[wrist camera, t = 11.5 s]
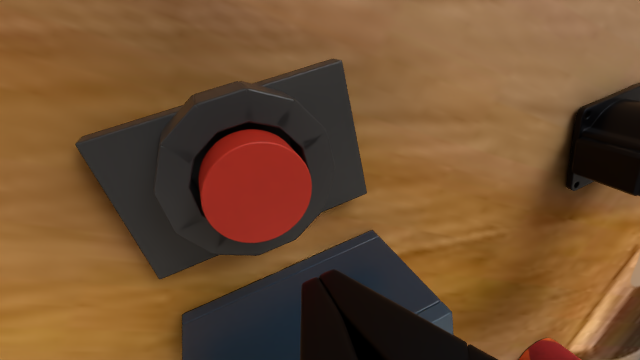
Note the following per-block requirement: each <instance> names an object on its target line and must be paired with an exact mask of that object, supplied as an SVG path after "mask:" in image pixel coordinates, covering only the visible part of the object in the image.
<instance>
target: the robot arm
mask: <svg viewBox="0 0 640 360" xmlns="http://www.w3.org/2000/svg"><path fill="white" fill-rule="evenodd" d="M594 181H595V182H598V183H601V184H604V185H606V186H609V187H612V188H614V189H617V190H620V191H623V192H625V193H628V194H631V195H634V196H637V195H638V196H640V83H638V84H636V85H633V86H631V87H628V88H626V89H624V90H621V91H619V92H616V93H614V94H612V95H609V96H607V97H605V98H602V99H600V100H597V101H595V102H593V103H590V104H588V105H585V106H583V107H581V108H580V109H579V110H578V112H577V115H576V120H575V127H574V134H573V142H572V149H571V156H570V163H569V170H568V177H567V184H566V187H567V188H568V189H570V190H573V191H575V190H577V189H579V188H581V187H583V186H585V185H588V184H590V183H592V182H594ZM300 360H498V359H496V358H494V357H492V356H490V355H488V354H487V353H485V352H483V351H481V350H479V349H478V348H476V347H474V346H472V345H468V347H467V343H466V342H465V341H463V340H461V339H460V338H458V337H456V336H454V335H452V334H451V333H449V332H447V331H445V330H443V329H442V328H440V327H438V326H436V325H434V324H433V323H431V322H429V321H427V320H425V319H424V318H422V317H420V316H418V315H417V314H415V313H413V312H411V311H409V310H408V309H406V308H404V307H402V306H400V305H399V304H397V303H395V302H393V301H391V300H390V299H388V298H386V297H384V296H382V295H381V294H379V293H377V292H375V291H374V290H372V289H370V288H368V287H366V286H365V285H363V284H361V283H359V282H357V281H356V280H354V279H352V278H350V277H348V276H347V275H345V274H343V273H341V272H339V271H338V270H336V269H332V270H330V271H328V272H325V273H323V274H321V275H320V276H319V278H318V277H314V278H312V279H310V280H308V281H306V282H304V283H303V284H302V287H301V339H300Z"/></svg>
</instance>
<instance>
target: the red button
mask: <svg viewBox="0 0 640 360" xmlns="http://www.w3.org/2000/svg"><path fill="white" fill-rule="evenodd" d="M198 180H199V190H200V198H201V205H202V210H203V212H204V215H205V217H206V219H207V220H208V222H209V223H210V225H211V226H212V227H213V228H214V229H215V230H216V231H217V232H219V233H220V234H222V235H223V236H225V237H227V238H229V239H232V240H234V241H238V242H244V243H258V242H264V241H268V240H271V239H274V238H277V237H279V236H281V235H283V234H284V233H286V232H287V231H289V230H290V229H291V228H292V227H294V226H295V225H296V224H297V223H298V221H299V220H300V219H301V218H302V216H303V215H304V213H305V211H306V209H307V207H308V205H309V202H310V198H311V193H312V181H311V176H310V173H309V170H308V168H307V166H306V164H305V163H304V161H303V160H302V158H301V157H300V156H299V155H298V154H297V153H296V152H295V151H294V150H293V149H292V148H291V147H290V146H289V145H288V144H287V143H286V142H285V141H284V140H283V139H282V138H280V137H279V136H277V135H275V134H273V133H271V132H268V131H264V130H258V129H246V130H240V131H236V132H233V133H231V134H228V135H226V136H225V137H223V138H221V139H220V140H219V141H217V142H216V143H215V144H214V145H213V146H212V147H211V148H210V149H209V150H208V152H207V153H206V155H205V156H204V158H203V160H202V163H201V165H200V169H199V177H198Z"/></svg>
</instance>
